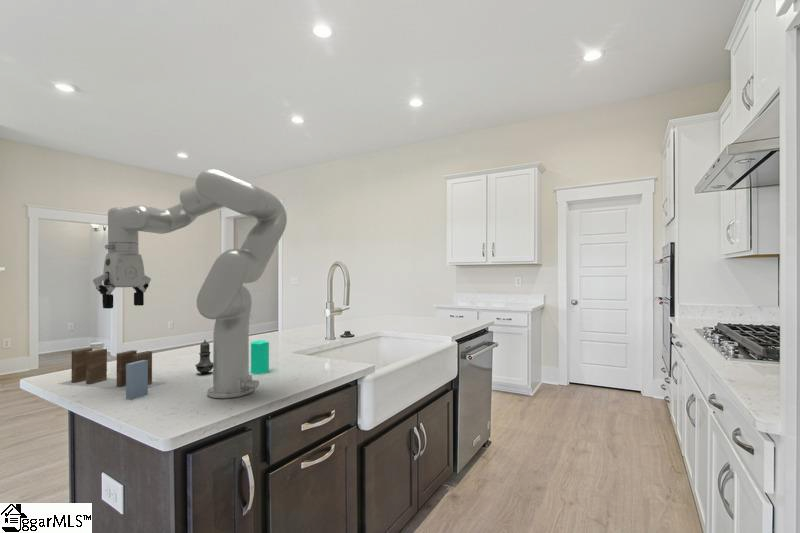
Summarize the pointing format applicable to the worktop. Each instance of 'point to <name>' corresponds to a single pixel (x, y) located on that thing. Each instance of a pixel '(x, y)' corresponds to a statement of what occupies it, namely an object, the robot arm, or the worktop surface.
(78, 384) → the mat
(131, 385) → the slate tile
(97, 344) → the supplement bottle
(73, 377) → the tile
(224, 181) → the robot arm
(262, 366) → the candle
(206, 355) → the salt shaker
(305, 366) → the worktop surface
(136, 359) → the tile
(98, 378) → the tile
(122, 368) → the tile
